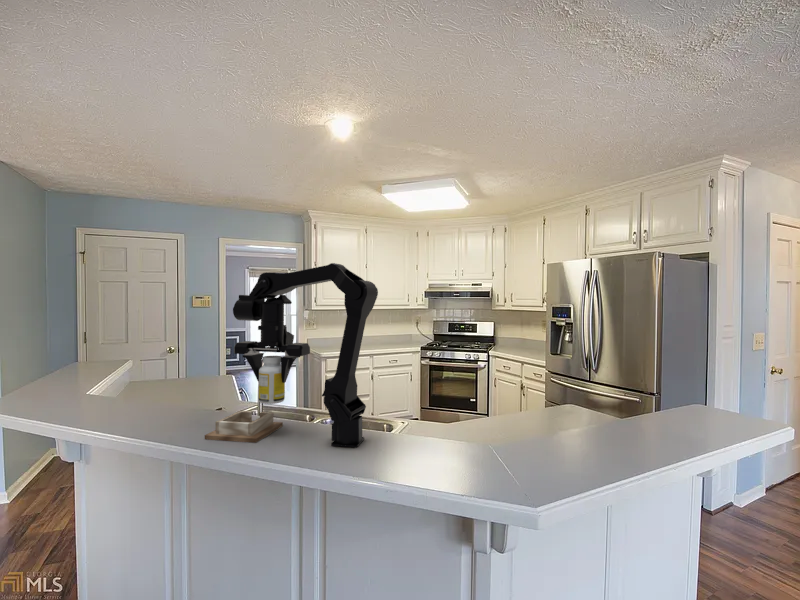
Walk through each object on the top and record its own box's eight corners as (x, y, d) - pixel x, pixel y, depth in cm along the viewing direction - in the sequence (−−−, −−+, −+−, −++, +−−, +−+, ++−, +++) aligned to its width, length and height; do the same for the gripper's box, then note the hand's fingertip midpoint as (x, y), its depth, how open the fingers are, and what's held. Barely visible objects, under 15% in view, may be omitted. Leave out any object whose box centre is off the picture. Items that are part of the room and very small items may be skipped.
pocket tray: (282, 426, 117) (282, 411, 117) (256, 442, 104) (256, 426, 104) (236, 423, 120) (236, 409, 120) (204, 439, 106) (204, 423, 106)
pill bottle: (288, 399, 113) (289, 355, 113) (278, 405, 107) (279, 359, 107) (264, 398, 114) (265, 354, 114) (253, 404, 108) (254, 358, 108)
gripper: (318, 320, 117) (317, 378, 117) (255, 319, 120) (255, 374, 120) (301, 323, 106) (300, 386, 106) (232, 321, 109) (232, 382, 109)
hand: (271, 381), depth 111 cm, fingers closed on pill bottle, 6 cm apart
